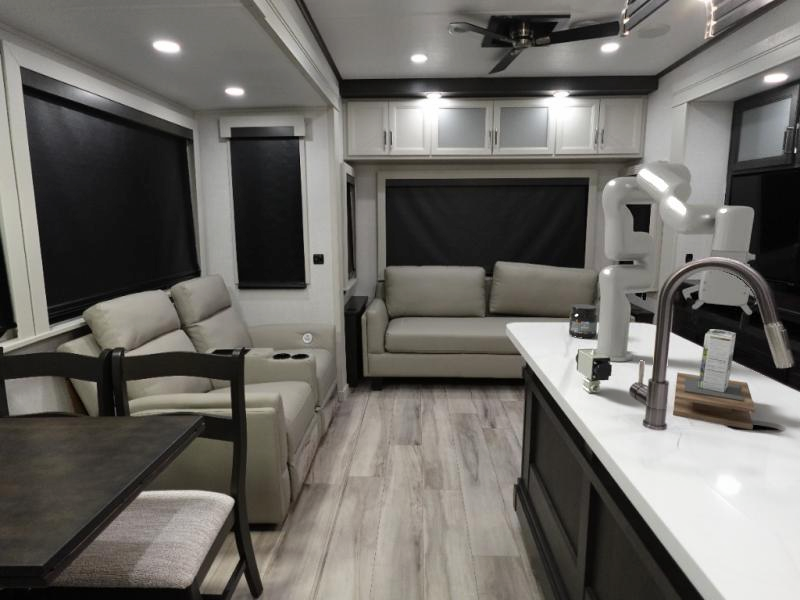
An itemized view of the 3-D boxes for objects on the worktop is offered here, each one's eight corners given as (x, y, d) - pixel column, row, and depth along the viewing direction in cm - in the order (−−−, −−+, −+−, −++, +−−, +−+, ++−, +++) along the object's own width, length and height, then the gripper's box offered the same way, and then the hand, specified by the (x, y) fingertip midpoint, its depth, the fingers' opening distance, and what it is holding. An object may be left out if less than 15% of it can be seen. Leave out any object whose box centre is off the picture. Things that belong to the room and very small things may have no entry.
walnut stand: (675, 389, 136) (677, 371, 135) (744, 400, 128) (747, 381, 127) (672, 414, 119) (675, 394, 118) (752, 429, 111) (755, 407, 110)
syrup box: (702, 381, 127) (708, 328, 124) (729, 387, 123) (736, 331, 120) (697, 387, 123) (704, 332, 120) (725, 393, 119) (732, 336, 116)
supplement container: (582, 331, 201) (584, 303, 198) (602, 337, 191) (604, 307, 189) (562, 334, 196) (564, 305, 194) (582, 340, 187) (584, 310, 185)
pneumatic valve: (593, 399, 129) (596, 356, 127) (573, 383, 141) (575, 344, 138) (613, 398, 130) (616, 355, 128) (591, 383, 141) (594, 343, 139)
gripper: (770, 258, 115) (759, 327, 119) (687, 254, 124) (678, 318, 128) (775, 262, 109) (763, 335, 113) (686, 257, 118) (678, 325, 121)
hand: (718, 326), depth 120 cm, fingers open, 9 cm apart
